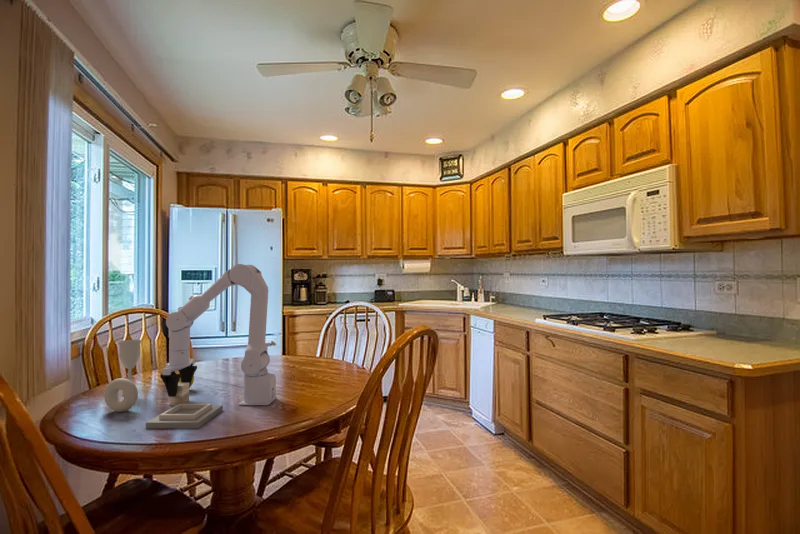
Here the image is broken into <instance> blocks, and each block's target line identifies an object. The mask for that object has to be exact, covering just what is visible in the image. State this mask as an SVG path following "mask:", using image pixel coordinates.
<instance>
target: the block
mask: <svg viewBox="0 0 800 534" xmlns="http://www.w3.org/2000/svg"><path fill="white" fill-rule="evenodd" d="M188 401H189V402H190V389H189V383H178V389H177V395H176V396H175V397H169V406H176V405H178V404H187V403H189V402H188ZM186 402H187V403H186Z"/></svg>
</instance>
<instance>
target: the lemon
mask: <svg viewBox="0 0 800 534" xmlns="http://www.w3.org/2000/svg"><path fill="white" fill-rule="evenodd" d="M177 374H180V373H179V371H177ZM194 375H195V374H194ZM194 375H193V378H192V382H191V385H190V388H191V387H192V386H193V384H194V381H195V376H194ZM178 383H181V377H180V379H179V382H178Z"/></svg>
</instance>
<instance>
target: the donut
mask: <svg viewBox="0 0 800 534" xmlns="http://www.w3.org/2000/svg"><path fill="white" fill-rule="evenodd" d="M119 391H123V392H124V395H125V396H123V397H124V398H123V399H121V398H120V396H119ZM103 396H104V397H103V398H104V403H106V406H107V407H108V408H109V409H110V410H112V411H114V412H118V413H123V412H126V411H127V412H128V411H129V410H131V409H132V408H133V407H134V406H135V405H136V403H137V401H138V398H139V391H138V388H137V386H136V384H135V383H134V382H133V380H132V381H130V380H129V379H128V378H125V377H120V378H115V379H113V380H111V381H110V382H109V383H108V384H107V386H106V387H105V389H104V394H103Z"/></svg>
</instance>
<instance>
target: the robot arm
mask: <svg viewBox="0 0 800 534" xmlns="http://www.w3.org/2000/svg"><path fill="white" fill-rule="evenodd" d="M233 286H234V287H235V286H240V287H242V288H243V289H245V290H246V291H247V292H248V293H249V294H250V305H249V306H250V307H249V308H250V310H249V322H248V323H249V325H248V338H247V340H248V341H247V345H246V348H245V349H244V350H245V351H244V357H243V359H242V360H241V362H240V367H241V371H242V372H243V400H241V401H240V402H239V403H238V406H269V405H271V404H272V402H274V401H275V400H276V399H277V397H278V396H277V378H276V377H277V376H276V374H275V373H269V370H268V369H267V367H268V366H269V364H270V361H271V359H270V355H269V352H268V346H267V344H266V337H267V335H266V334H267V320H268V319H267V318H268V302H269V287H268V285H267V283H266V281H265V279H264V277H263V275H262V271H261V270H260V269H259V268H258V267H256V266H255V265H253V264H243V263H236V264H234V265H232V267H231V268H229V269H228V270H226V271H225V272H224V273H223V274H222V275H221V276H220V277H219V278H218V279H217V280H216V281H214V283H213V284H211V285H210V287H209V288H207V290H205V291H204V292H203V293H201V294H196V295H192V296H190V297H189V298H188V301H187V302H186V303H184V304H183V305H182V306H179V307H178V308H177V311H173V312H170V313H169V315H167V317H166V319H165V326H166V327H167V328H168V330H169V341H168V342H169V347H168V348H169V353H168V356H169V359H168V360H169V361H168V363H166V364H165V367H163V368H162V373H161V374H160V375H159V377H160V379H161V380H162V382H163V383H164V386H165V388H166V393H167V395H168V397H169V398H170V397H175V396H176V395H177V389H178V382H179V379H180V377H181V383H189V390H190V389H191V387H190V385H191V382H192V378H193V375H195V373H196V372H197V370H198V365H196V364H195V361H196V359H195V358H190V357H191V328H192V326H193V325H194V322H195V321H196V320H197V319H198V318H199V317H200V316H201V315H203V314H204V313H205V312H206V311H207V310H208V309H210V304H211V302H212V301H213V300H215V298H217V297H219V295H220V294H222V293H223V292H225V291H226V290H227V289H228V288H230V287H233ZM177 372H179V373H180V374H178V373H177Z"/></svg>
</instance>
